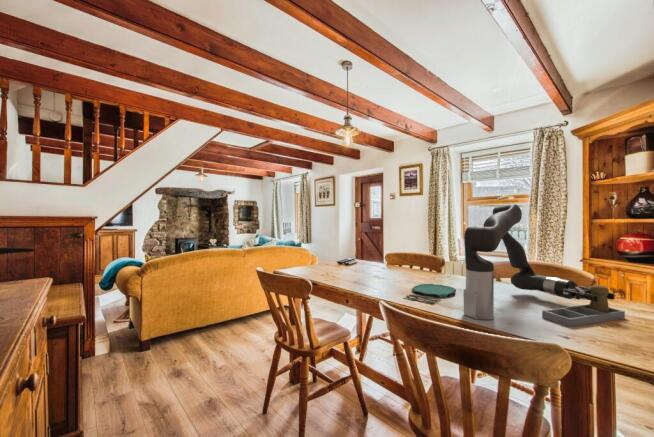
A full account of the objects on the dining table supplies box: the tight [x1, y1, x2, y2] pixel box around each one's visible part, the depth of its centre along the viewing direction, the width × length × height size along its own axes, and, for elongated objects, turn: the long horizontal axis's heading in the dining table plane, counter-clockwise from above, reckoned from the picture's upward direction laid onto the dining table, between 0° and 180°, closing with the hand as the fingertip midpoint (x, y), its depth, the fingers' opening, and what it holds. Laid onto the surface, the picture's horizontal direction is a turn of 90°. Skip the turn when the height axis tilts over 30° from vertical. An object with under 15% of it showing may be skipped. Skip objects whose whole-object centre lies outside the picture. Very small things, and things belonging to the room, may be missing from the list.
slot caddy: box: [541, 303, 626, 328], centre depth 107 cm, size 27×10×2 cm, turn 107°
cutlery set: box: [402, 283, 457, 305], centre depth 139 cm, size 20×30×2 cm, turn 138°
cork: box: [589, 284, 610, 313], centre depth 109 cm, size 6×6×11 cm
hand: (606, 297), depth 107 cm, fingers open, 8 cm apart
